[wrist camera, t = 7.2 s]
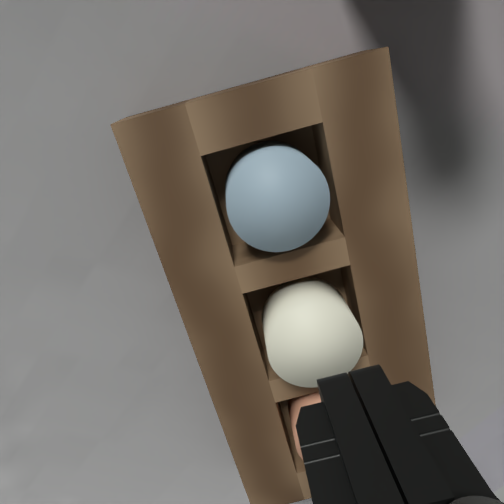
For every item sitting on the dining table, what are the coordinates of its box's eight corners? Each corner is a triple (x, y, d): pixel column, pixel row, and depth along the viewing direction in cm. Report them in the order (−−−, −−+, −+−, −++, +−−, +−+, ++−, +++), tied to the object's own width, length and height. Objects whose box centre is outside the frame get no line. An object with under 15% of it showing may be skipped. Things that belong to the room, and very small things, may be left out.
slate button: (305, 129, 22) (318, 137, 19) (324, 217, 23) (338, 237, 21) (213, 155, 22) (213, 166, 19) (238, 241, 23) (241, 263, 21)
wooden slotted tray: (362, 50, 22) (388, 46, 19) (419, 423, 31) (443, 464, 27) (126, 117, 22) (110, 124, 19) (249, 466, 31) (253, 512, 28)
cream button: (338, 267, 23) (354, 293, 20) (353, 340, 25) (370, 373, 22) (252, 290, 23) (256, 319, 20) (272, 361, 25) (279, 397, 22)
